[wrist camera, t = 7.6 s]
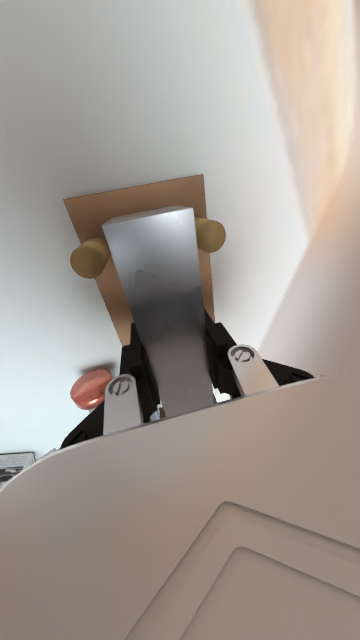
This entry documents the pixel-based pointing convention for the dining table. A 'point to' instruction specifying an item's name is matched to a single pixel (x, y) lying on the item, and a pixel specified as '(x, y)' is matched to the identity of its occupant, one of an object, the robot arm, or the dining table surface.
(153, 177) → the dining table surface
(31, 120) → the dining table surface
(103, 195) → the rack
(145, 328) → the grey bar
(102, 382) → the pin
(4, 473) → the light bulb box
